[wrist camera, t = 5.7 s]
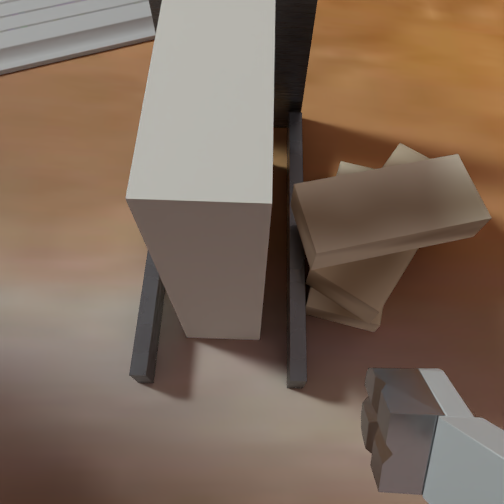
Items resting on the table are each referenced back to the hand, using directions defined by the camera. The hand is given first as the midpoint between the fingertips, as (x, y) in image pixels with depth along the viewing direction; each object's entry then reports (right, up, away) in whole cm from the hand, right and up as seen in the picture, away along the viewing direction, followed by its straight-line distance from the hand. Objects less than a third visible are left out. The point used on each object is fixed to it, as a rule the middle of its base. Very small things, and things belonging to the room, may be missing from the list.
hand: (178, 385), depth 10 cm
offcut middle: (+9, +4, +17) cm, 19 cm away
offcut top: (+8, +5, +15) cm, 18 cm away
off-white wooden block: (0, +4, +18) cm, 18 cm away
